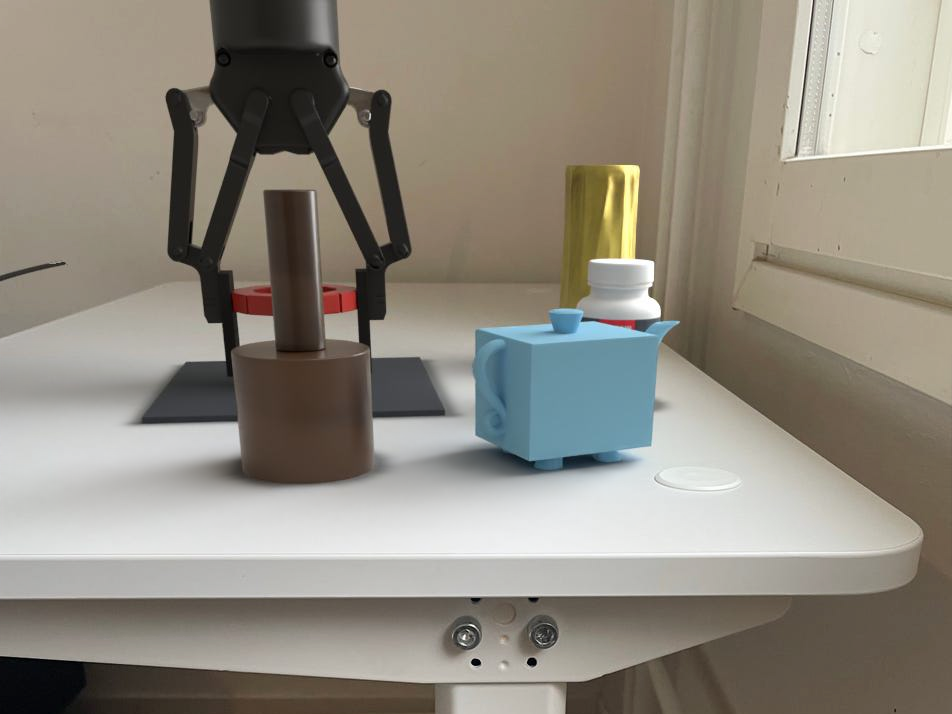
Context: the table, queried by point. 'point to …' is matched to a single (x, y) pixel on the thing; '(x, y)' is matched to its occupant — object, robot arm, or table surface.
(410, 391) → the mat
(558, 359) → the teapot
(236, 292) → the ring
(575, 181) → the vase
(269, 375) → the ring holder
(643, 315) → the pill bottle
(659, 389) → the table surface
